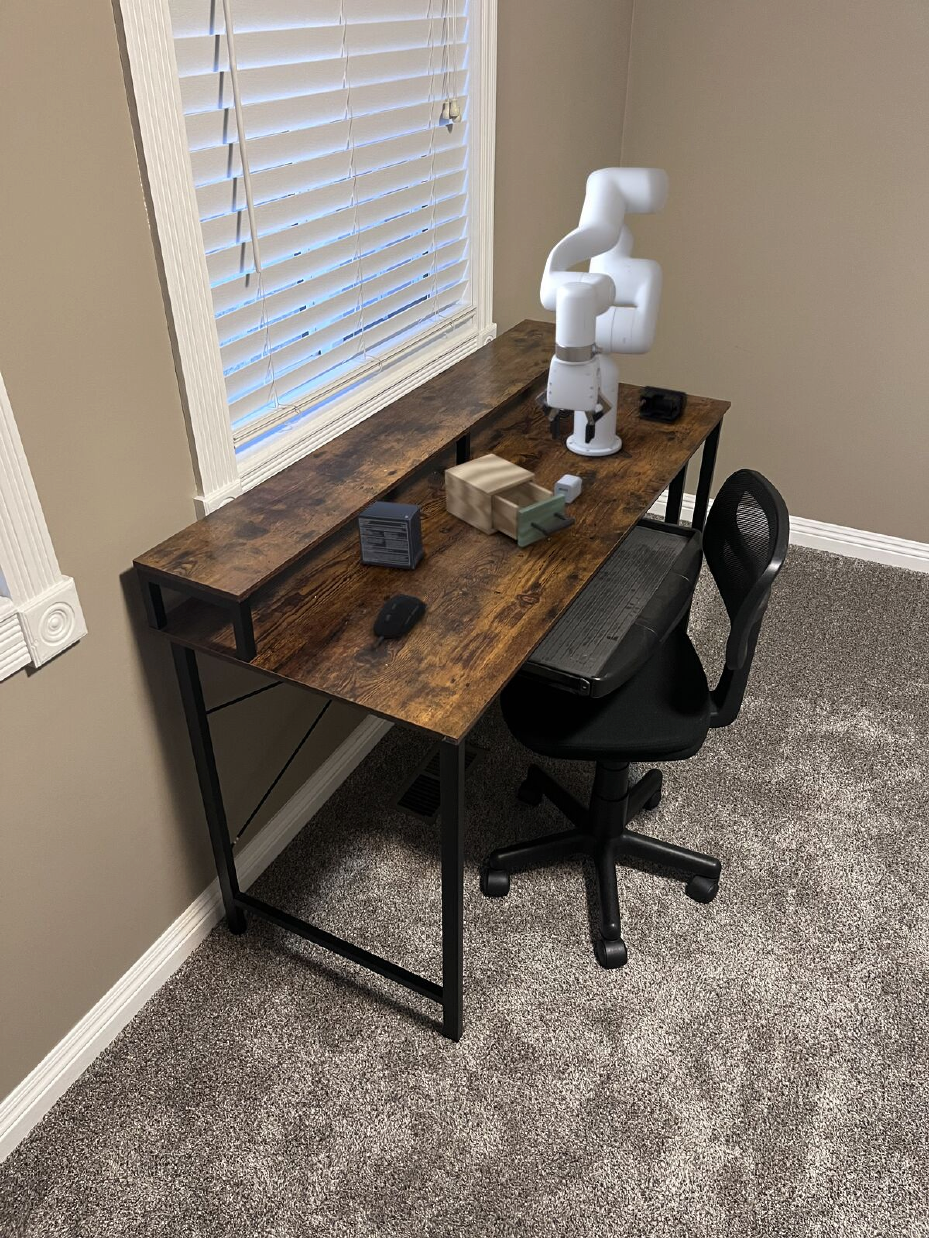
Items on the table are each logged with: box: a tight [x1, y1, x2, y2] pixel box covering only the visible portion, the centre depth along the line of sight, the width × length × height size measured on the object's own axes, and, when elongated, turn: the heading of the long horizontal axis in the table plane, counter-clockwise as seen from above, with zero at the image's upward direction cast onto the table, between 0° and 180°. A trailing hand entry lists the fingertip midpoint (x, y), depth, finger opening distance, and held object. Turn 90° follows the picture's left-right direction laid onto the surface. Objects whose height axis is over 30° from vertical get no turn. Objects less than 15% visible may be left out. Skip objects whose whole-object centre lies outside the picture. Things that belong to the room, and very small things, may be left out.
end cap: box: [638, 385, 688, 425], centre depth 225 cm, size 10×7×7 cm
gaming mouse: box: [372, 593, 426, 650], centre depth 154 cm, size 6×15×4 cm, turn 155°
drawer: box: [491, 481, 576, 548], centre depth 177 cm, size 17×11×7 cm, turn 38°
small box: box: [356, 500, 424, 570], centre depth 171 cm, size 11×6×10 cm, turn 74°
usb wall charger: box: [554, 474, 583, 504], centre depth 192 cm, size 4×7×4 cm, turn 149°
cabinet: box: [444, 453, 536, 536], centre depth 185 cm, size 14×12×9 cm
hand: (572, 438), depth 186 cm, fingers open, 6 cm apart
